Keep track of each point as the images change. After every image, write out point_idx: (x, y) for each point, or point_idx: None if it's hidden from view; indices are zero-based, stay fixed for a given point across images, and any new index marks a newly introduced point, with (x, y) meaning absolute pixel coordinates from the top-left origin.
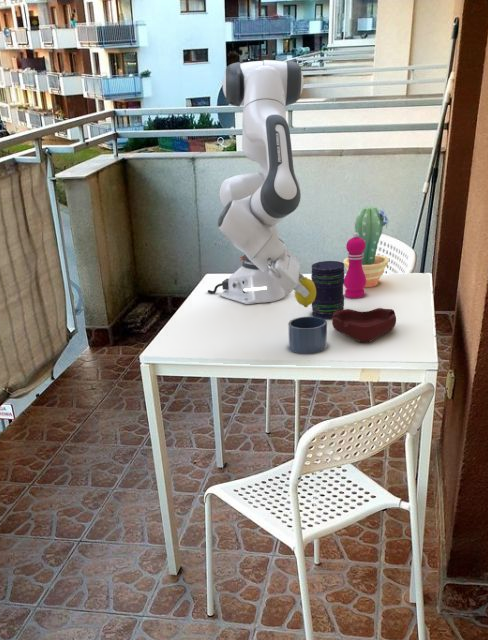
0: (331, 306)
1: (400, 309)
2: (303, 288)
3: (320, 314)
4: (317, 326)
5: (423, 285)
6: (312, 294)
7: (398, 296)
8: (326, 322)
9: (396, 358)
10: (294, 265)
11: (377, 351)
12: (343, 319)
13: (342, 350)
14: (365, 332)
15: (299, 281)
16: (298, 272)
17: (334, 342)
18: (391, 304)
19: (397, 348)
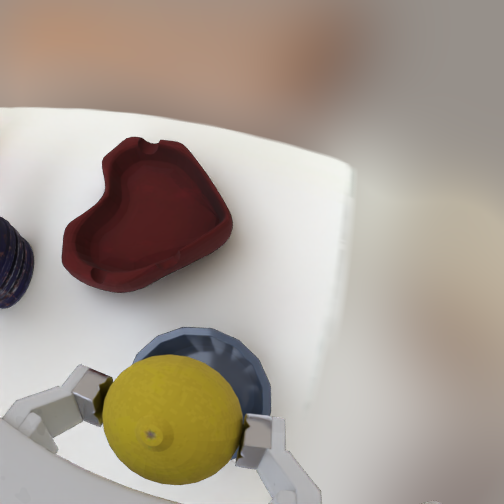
0: (13, 259)
1: (67, 139)
2: (292, 461)
3: (14, 293)
4: (161, 353)
5: (15, 108)
6: (232, 389)
7: (20, 137)
8: (216, 330)
9: (330, 205)
10: (17, 497)
11: (282, 227)
12: (89, 252)
13: (255, 305)
14: (232, 225)
15: (160, 474)
16: (129, 502)
17: (187, 312)
18: (38, 149)
19: (273, 186)
